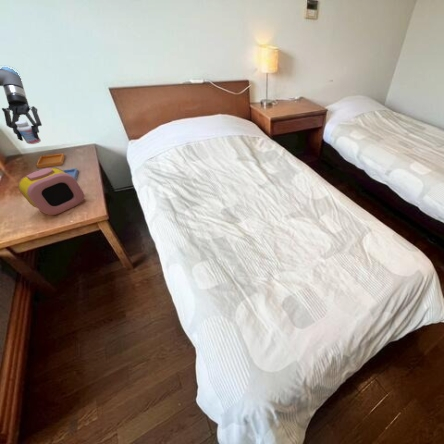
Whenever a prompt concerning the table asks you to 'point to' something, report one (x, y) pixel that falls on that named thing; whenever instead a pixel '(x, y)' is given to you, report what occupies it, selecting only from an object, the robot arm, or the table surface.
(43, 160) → the amber tray
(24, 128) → the pill bottle
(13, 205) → the table surface
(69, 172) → the blue tray
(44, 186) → the alarm clock
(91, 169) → the table surface
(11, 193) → the table surface
